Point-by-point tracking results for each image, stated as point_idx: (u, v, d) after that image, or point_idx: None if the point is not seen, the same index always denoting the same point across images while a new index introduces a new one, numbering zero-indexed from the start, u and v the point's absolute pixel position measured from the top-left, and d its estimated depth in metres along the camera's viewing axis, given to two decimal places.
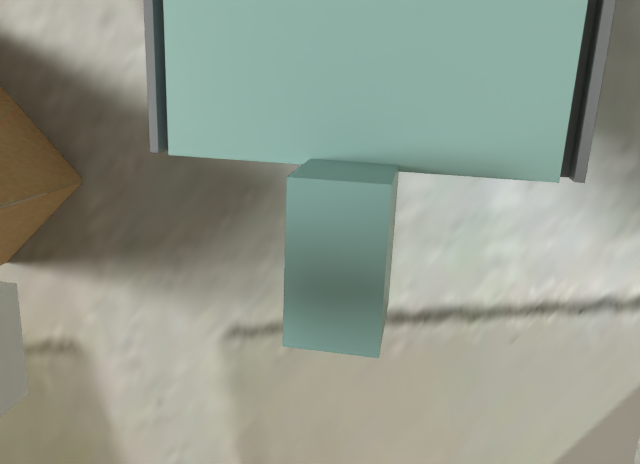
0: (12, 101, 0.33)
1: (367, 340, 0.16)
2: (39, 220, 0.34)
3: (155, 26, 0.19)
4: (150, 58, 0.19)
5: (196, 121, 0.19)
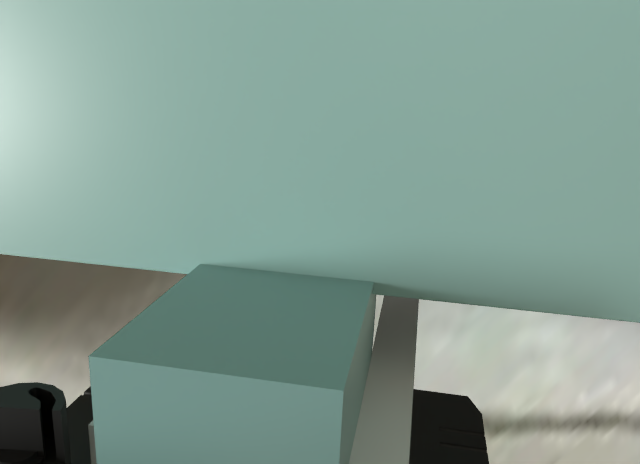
0: None
1: None
2: None
3: None
4: None
5: None
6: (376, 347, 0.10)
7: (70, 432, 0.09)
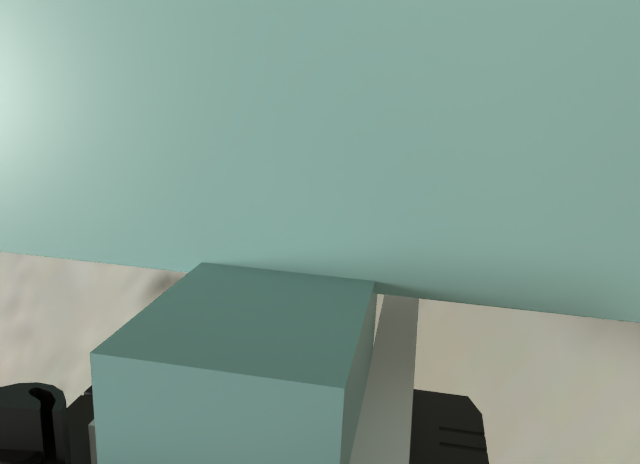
0: None
1: None
2: None
3: None
4: None
5: None
6: (376, 347, 0.10)
7: (70, 432, 0.09)
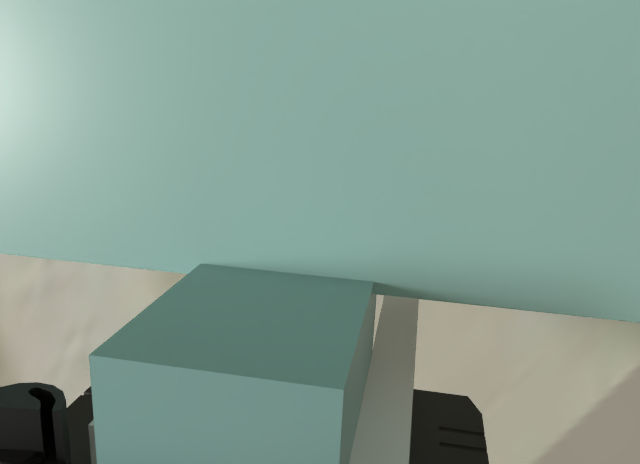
0: None
1: None
2: None
3: None
4: None
5: None
6: (376, 347, 0.10)
7: (70, 432, 0.09)
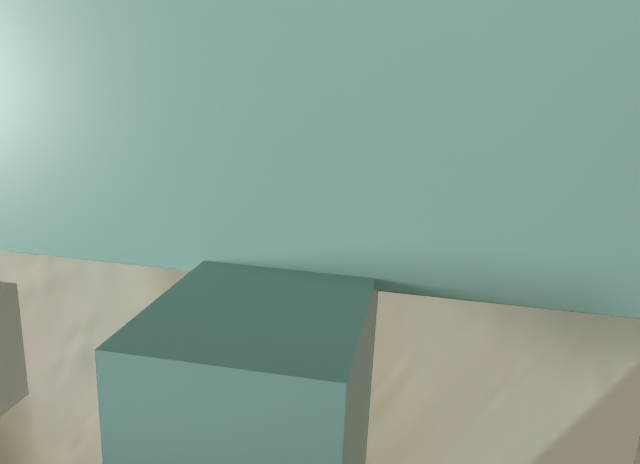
0: None
1: None
2: None
3: None
4: None
5: None
6: None
7: None
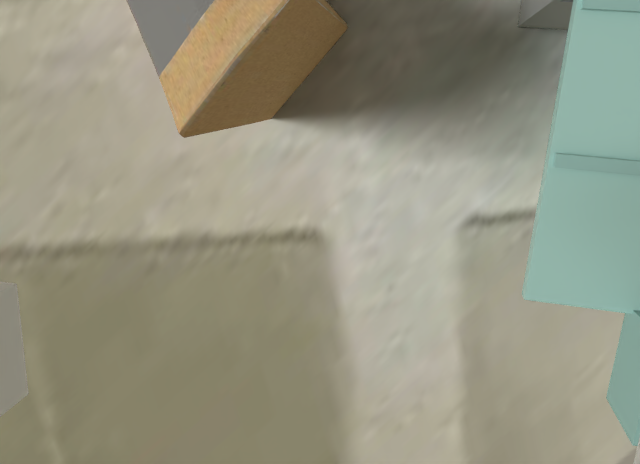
0: None
1: None
2: (312, 65, 0.38)
3: None
4: None
5: (550, 279, 0.27)
6: None
7: None
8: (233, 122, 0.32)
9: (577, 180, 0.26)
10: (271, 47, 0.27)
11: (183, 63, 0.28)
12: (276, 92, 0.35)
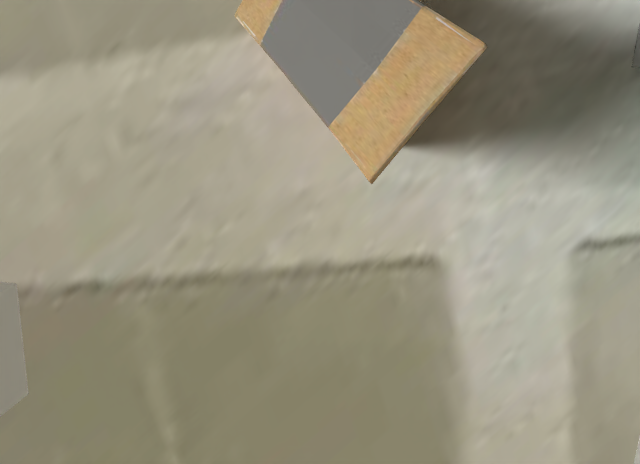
0: None
1: None
2: None
3: None
4: None
5: None
6: None
7: None
8: None
9: None
10: None
11: (359, 115, 0.30)
12: None
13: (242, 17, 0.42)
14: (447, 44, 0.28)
